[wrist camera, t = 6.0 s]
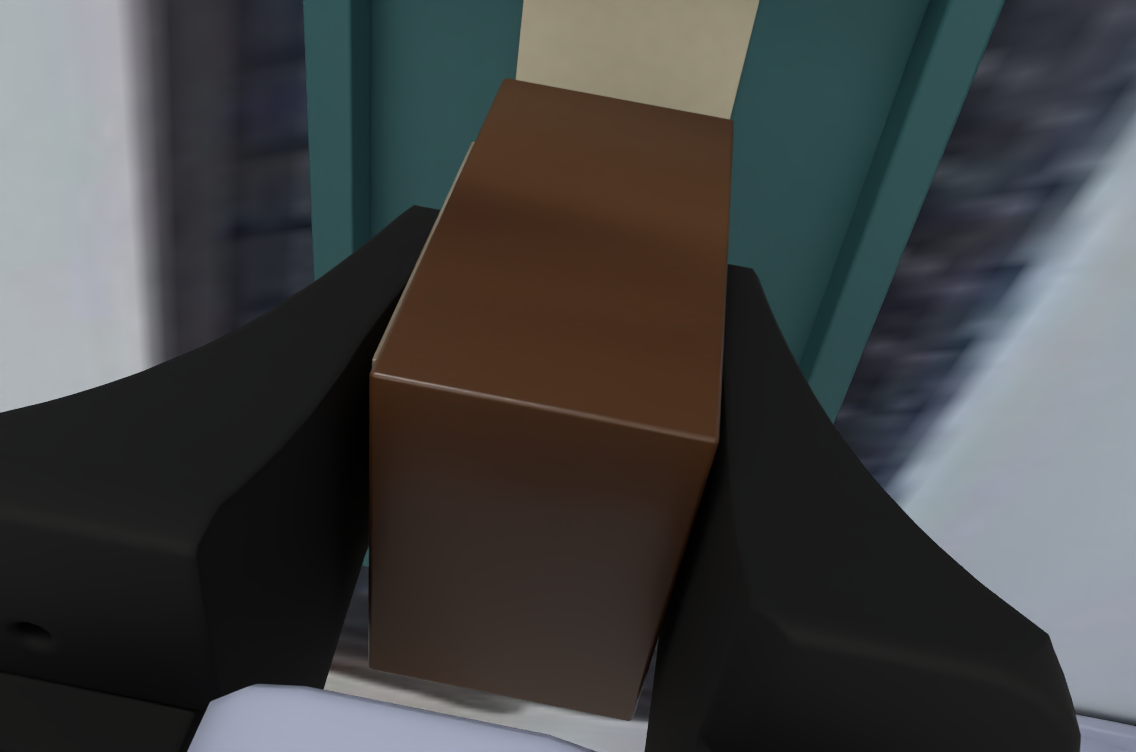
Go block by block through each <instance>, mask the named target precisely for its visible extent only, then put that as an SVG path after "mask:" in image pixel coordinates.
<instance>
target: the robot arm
mask: <svg viewBox="0 0 1136 752" xmlns="http://www.w3.org/2000/svg"><path fill="white" fill-rule="evenodd" d="M439 213H440V210H439V209H433V208H428V207H423V206H417V205H413V206H412V207H410V208H409V209H407V210H406V211H404V212H403V213H402V214H401V215H399V216H398V217H397V218H396V219H394V220H393V221H392V222H391V223H390V224H388V225H387V226H386V227H385V228H383V229H382V230H381V231H380V232H379V233H377V234H376V235H375V236H374V237H372V238H371V239H370V240H369V241H367V242H366V243H365V244H364V245H362V246H361V247H360V248H359V249H357V250H356V251H355V252H354V253H352V254H351V255H350V256H348V257H347V258H346V259H344V260H343V261H341V262H340V263H339V264H337V265H336V266H335V267H333V268H332V269H331V270H329V271H328V272H327V273H325V274H324V275H323V276H321V277H320V278H319V279H317V280H316V281H314V282H313V283H312V284H310V285H309V286H307V287H306V288H304V289H302V290H301V291H299V292H298V293H296V294H295V295H293V296H292V297H290V298H289V299H287V300H286V301H284V302H283V303H281V304H280V305H278V306H277V307H275V308H273V309H272V310H270V311H269V312H267V313H265V314H264V315H262V316H260V317H259V318H257V319H255V320H253V321H251V322H250V323H248V324H246V325H244V326H242V327H240V328H238V329H236V330H234V331H232V332H230V333H229V334H227V335H225V336H223V337H221V338H219V339H217V340H215V341H213V342H211V343H209V344H206V345H204V346H202V347H200V348H197V349H195V350H193V351H190V352H188V353H185V354H183V355H181V356H178V357H176V358H173V359H171V360H169V361H166V362H164V363H161V364H159V365H157V366H154V367H152V368H149V369H147V370H145V371H142V372H139V373H137V374H134V375H131V376H128V377H125V378H122V379H119V380H117V381H114V382H111V383H108V384H105V385H102V386H99V387H95V388H92V389H89V390H86V391H82V392H79V393H76V394H73V395H69V396H66V397H62V398H59V399H55V400H51V401H48V402H44V403H40V404H36V405H31V406H27V407H23V408H18V409H14V410H10V411H6V412H1V413H0V752H596V751H593V750H590V749H588V748H585V747H582V746H579V745H576V744H573V743H571V742H568V741H565V740H562V739H559V738H557V737H554V736H551V735H547V734H542V733H537V732H532V731H527V730H522V729H517V728H512V727H507V726H502V725H497V724H492V723H487V722H482V721H477V720H472V719H467V718H462V717H457V716H452V715H447V714H442V713H437V712H433V711H428V710H423V709H418V708H413V707H408V706H403V705H398V704H393V703H388V702H383V701H378V700H373V699H368V698H363V697H358V696H353V695H348V694H343V693H338V692H333V691H328V690H323V689H324V686H325V682H326V679H327V676H328V673H329V669H330V666H331V663H332V659H333V656H334V653H335V650H336V646H337V643H338V640H339V637H340V633H341V630H342V627H343V624H344V620H345V617H346V614H347V611H348V608H349V605H350V601H351V598H352V595H353V592H354V589H355V586H356V583H357V580H358V576H359V573H360V570H361V567H362V564H363V561H364V558H365V555H366V552H367V550H368V547H369V374H370V372H371V370H372V359H373V357H374V354H375V352H376V350H377V348H378V346H379V344H380V341H381V339H382V337H383V335H384V333H385V330H386V328H387V326H388V324H389V322H390V320H391V317H392V315H393V313H394V311H395V309H396V306H397V304H398V302H399V300H400V298H401V296H402V293H403V291H404V289H405V287H406V285H407V282H408V280H409V278H410V276H411V274H412V271H413V269H414V267H415V265H416V263H417V261H418V258H419V256H420V254H421V252H422V250H423V247H424V245H425V243H426V241H427V239H428V237H429V234H430V232H431V230H432V228H433V226H434V223H435V221H436V219H437V217H438V215H439ZM645 752H1136V726H1132V725H1127V724H1122V723H1117V722H1112V721H1107V720H1102V719H1097V718H1092V717H1087V716H1082V715H1077V714H1075V710H1074V706H1073V702H1072V698H1071V695H1070V692H1069V689H1068V686H1067V683H1066V679H1065V676H1064V673H1063V671H1062V668H1061V666H1060V664H1059V661H1058V659H1057V656H1056V654H1055V651H1054V649H1053V646H1052V643H1051V640H1050V637H1049V635H1048V634H1047V633H1046V632H1044V631H1043V630H1042V629H1041V628H1039V627H1038V626H1037V625H1035V624H1034V623H1033V622H1031V621H1030V620H1029V619H1027V618H1026V617H1025V616H1023V615H1022V614H1021V613H1020V612H1018V611H1017V610H1016V609H1014V608H1013V607H1012V606H1010V605H1009V604H1008V603H1006V602H1005V601H1004V600H1002V599H1001V598H1000V597H998V596H997V595H996V594H995V593H993V592H992V591H991V590H989V589H988V588H987V587H985V586H984V585H983V584H982V583H980V582H979V581H978V580H977V579H976V578H974V577H973V576H972V575H971V574H970V573H969V572H968V571H966V570H965V569H964V568H963V567H962V566H961V565H960V564H958V563H957V562H956V561H955V560H954V559H953V558H952V557H951V556H949V555H948V554H947V553H946V552H945V551H944V550H943V549H942V548H940V547H939V546H938V545H937V544H936V543H935V542H934V541H933V540H932V539H931V538H930V537H929V536H928V535H927V534H926V533H925V532H924V531H923V530H922V529H921V528H920V527H919V526H918V525H917V524H916V523H915V522H914V521H913V520H912V519H911V518H910V517H909V516H908V515H907V514H906V513H905V512H904V511H903V510H902V509H901V508H900V507H899V505H898V504H897V503H896V502H895V501H894V500H893V499H892V498H891V497H890V496H889V495H888V494H887V493H886V492H885V490H884V489H883V488H882V487H881V486H880V485H879V484H878V482H877V481H876V480H875V479H874V478H873V477H872V475H871V474H870V473H869V472H868V471H867V469H866V468H865V467H864V465H863V464H862V463H861V462H860V460H859V459H858V458H857V456H856V455H855V454H854V453H853V451H852V450H851V449H850V447H849V446H848V445H847V444H846V442H845V441H844V439H843V438H842V436H841V435H840V434H839V432H838V431H837V429H836V428H835V426H834V425H833V423H832V422H831V420H830V418H829V417H828V415H827V414H826V412H825V410H824V409H823V407H822V406H821V404H820V402H819V401H818V399H817V398H816V396H815V394H814V393H813V391H812V389H811V387H810V386H809V384H808V382H807V380H806V379H805V377H804V375H803V373H802V371H801V369H800V367H799V365H798V364H797V362H796V360H795V358H794V356H793V354H792V352H791V350H790V349H789V347H788V344H787V342H786V340H785V338H784V336H783V334H782V332H781V330H780V328H779V326H778V323H777V321H776V319H775V317H774V315H773V312H772V310H771V308H770V305H769V303H768V301H767V298H766V296H765V293H764V291H763V288H762V285H761V283H760V280H759V278H758V276H757V274H756V273H755V271H754V270H753V268H748V267H742V266H737V265H732V264H728V267H727V288H726V310H725V331H724V352H723V373H722V395H721V416H720V437H719V444H718V447H717V451H716V454H715V457H714V460H713V463H712V467H711V470H710V473H709V476H708V479H707V483H706V486H705V489H704V492H703V495H702V499H701V502H700V505H699V508H698V512H697V515H696V518H695V521H694V524H693V528H692V531H691V534H690V537H689V540H688V544H687V547H686V550H685V553H684V556H683V560H682V563H681V566H680V569H679V572H678V576H677V579H676V582H675V585H674V588H673V592H672V595H671V598H670V601H669V604H668V608H667V611H666V614H665V617H664V620H663V624H662V627H661V630H660V633H659V641H658V650H657V658H656V666H655V675H654V683H653V691H652V699H651V706H650V714H649V722H648V730H647V738H646V746H645Z"/></svg>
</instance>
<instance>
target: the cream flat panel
mask: <svg viewBox="0 0 1136 752" xmlns="http://www.w3.org/2000/svg"><path fill="white" fill-rule="evenodd" d="M759 1H760V0H524V1H523V11H522V21H521V31H520V41H519V51H518V61H517V71H516V80H520V81H525V82H531V83H536V84H541V85H547V86H552V87H558V88H563V89H568V90H574V91H579V92H585V93H590V94H595V95H601V96H606V97H612V98H617V99H622V100H628V101H633V102H639V103H644V104H649V105H655V106H660V107H666V108H671V109H676V110H682V111H687V112H693V113H698V114H704V115H709V116H714V117H720V118H725V119H730V117H731V113H732V109H733V105H734V101H735V97H736V93H737V89H738V85H739V81H740V77H741V73H742V69H743V65H744V61H745V57H746V53H747V49H748V45H749V41H750V37H751V33H752V29H753V25H754V21H755V17H756V13H757V9H758V5H759Z"/></svg>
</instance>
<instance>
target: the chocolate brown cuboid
mask: <svg viewBox="0 0 1136 752" xmlns="http://www.w3.org/2000/svg"><path fill="white" fill-rule="evenodd" d="M733 140H734V121H733V120H731V119H725V118H720V117H714V116H709V115H704V114H698V113H693V112H687V111H682V110H676V109H671V108H666V107H660V106H655V105H649V104H644V103H639V102H633V101H628V100H622V99H617V98H612V97H606V96H601V95H595V94H590V93H585V92H579V91H574V90H568V89H563V88H558V87H552V86H547V85H541V84H536V83H531V82H525V81H520V80H514V79H509V78H505V79H503V81H502V83H501V85H500V87H499V90H498V92H497V94H496V96H495V98H494V101H493V103H492V105H491V107H490V109H489V112H488V114H487V116H486V118H485V121H484V123H483V125H482V127H481V129H480V132H479V134H478V136H477V138H476V140H475V142H472V143H471V145H470V147H469V149H468V151H467V154H466V156H465V158H464V160H463V162H462V165H461V167H460V169H459V171H458V173H457V175H456V178H455V180H454V182H453V184H452V186H451V189H450V191H449V193H448V195H447V197H446V199H445V202H444V204H443V206H442V208H441V210H440V213H439V215H438V217H437V219H436V221H435V223H434V226H433V228H432V230H431V232H430V234H429V237H428V239H427V241H426V243H425V245H424V247H423V250H422V252H421V254H420V256H419V258H418V261H417V263H416V265H415V267H414V269H413V271H412V274H411V276H410V278H409V280H408V282H407V285H406V287H405V289H404V291H403V293H402V296H401V298H400V300H399V302H398V304H397V306H396V309H395V311H394V313H393V315H392V317H391V320H390V322H389V324H388V326H387V328H386V330H385V333H384V335H383V337H382V339H381V341H380V344H379V346H378V348H377V350H376V352H375V354H374V357H373V359H372V370H371V372H370V374H369V614H368V665H369V668H370V669H373V670H377V671H382V672H387V673H392V674H397V675H402V676H407V677H412V678H417V679H422V680H427V681H432V682H437V683H442V684H447V685H452V686H457V687H462V688H467V689H472V690H477V691H482V692H487V693H492V694H497V695H502V696H507V697H512V698H517V699H522V700H527V701H532V702H537V703H542V704H547V705H552V706H557V707H562V708H567V709H571V710H576V711H581V712H586V713H591V714H596V715H601V716H606V717H611V718H616V719H621V720H626V721H630V720H632V718H633V716H634V713H635V710H636V707H637V704H638V700H639V697H640V694H641V691H642V688H643V684H644V681H645V678H646V675H647V672H648V668H649V665H650V662H651V659H652V656H653V652H654V649H655V646H656V643H657V640H658V636H659V633H660V630H661V627H662V624H663V620H664V617H665V614H666V611H667V608H668V604H669V601H670V598H671V595H672V592H673V588H674V585H675V582H676V579H677V576H678V572H679V569H680V566H681V563H682V560H683V556H684V553H685V550H686V547H687V544H688V540H689V537H690V534H691V531H692V528H693V524H694V521H695V518H696V515H697V512H698V508H699V505H700V502H701V499H702V495H703V492H704V489H705V486H706V483H707V479H708V476H709V473H710V470H711V467H712V463H713V460H714V457H715V454H716V451H717V447H718V444H719V437H720V416H721V395H722V373H723V352H724V331H725V310H726V288H727V267H728V246H729V225H730V204H731V182H732V161H733Z"/></svg>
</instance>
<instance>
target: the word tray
mask: <svg viewBox="0 0 1136 752" xmlns="http://www.w3.org/2000/svg"><path fill="white" fill-rule="evenodd" d="M523 1H524V0H303V10H304V36H305V61H306V87H307V112H308V138H309V163H310V189H311V214H312V240H313V265H314V281H316V280H317V279H319V278H320V277H321V276H323V275H324V274H325V273H327V272H328V271H329V270H331V269H332V268H333V267H335V266H336V265H337V264H339V263H340V262H341V261H343V260H344V259H346V258H347V257H348V256H350V255H351V254H352V253H354V252H355V251H356V250H357V249H359V248H360V247H361V246H362V245H364V244H365V243H366V242H367V241H369V240H370V239H371V238H372V237H374V236H375V235H376V234H377V233H379V232H380V231H381V230H382V229H383V228H385V227H386V226H387V225H388V224H390V223H391V222H392V221H393V220H394V219H396V218H397V217H398V216H399V215H401V214H402V213H403V212H404V211H406V210H407V209H409V208H410V207H412V206H413V205H417V206H423V207H428V208H433V209H439V210H441V208H442V206H443V204H444V202H445V199H446V197H447V195H448V193H449V191H450V189H451V186H452V184H453V182H454V180H455V178H456V175H457V173H458V171H459V169H460V167H461V165H462V162H463V160H464V158H465V156H466V154H467V151H468V149H469V147H470V145H471V143H472V142H475V140H476V138H477V136H478V134H479V132H480V129H481V127H482V125H483V123H484V121H485V118H486V116H487V114H488V112H489V109H490V107H491V105H492V103H493V101H494V98H495V96H496V94H497V92H498V90H499V87H500V85H501V83H502V81H503V79H505V78H509V79H514V80H516V71H517V61H518V51H519V41H520V31H521V21H522V11H523ZM1004 2H1005V0H760V1H759V5H758V9H757V13H756V17H755V21H754V25H753V29H752V33H751V37H750V41H749V45H748V49H747V53H746V57H745V61H744V65H743V69H742V73H741V77H740V81H739V85H738V89H737V93H736V97H735V101H734V105H733V109H732V113H731V117H730V119H731V120H733V121H734V140H733V161H732V182H731V204H730V225H729V246H728V264H732V265H737V266H742V267H748V268H753V270H754V271H755V273H756V274H757V276H758V278H759V280H760V283H761V285H762V288H763V291H764V293H765V296H766V298H767V301H768V303H769V305H770V308H771V310H772V312H773V315H774V317H775V319H776V321H777V323H778V326H779V328H780V330H781V332H782V334H783V336H784V338H785V340H786V342H787V344H788V347H789V349H790V350H791V352H792V354H793V356H794V358H795V360H796V362H797V364H798V365H799V367H800V369H801V371H802V373H803V375H804V377H805V379H806V380H807V382H808V384H809V386H810V387H811V389H812V391H813V393H814V394H815V396H816V398H817V399H818V401H819V402H820V404H821V406H822V407H823V409H824V410H825V412H826V414H827V415H828V417H829V418H830V420H831V422H832V423H833V424H834V422H835V419H836V417H837V415H838V412H839V410H840V407H841V405H842V402H843V400H844V397H845V395H846V392H847V390H848V387H849V385H850V382H851V380H852V378H853V375H854V373H855V370H856V368H857V365H858V363H859V360H860V358H861V355H862V353H863V350H864V348H865V345H866V343H867V341H868V338H869V336H870V333H871V331H872V328H873V326H874V323H875V321H876V318H877V316H878V313H879V311H880V308H881V306H882V304H883V301H884V299H885V296H886V294H887V291H888V289H889V286H890V284H891V281H892V279H893V276H894V274H895V271H896V269H897V266H898V264H899V262H900V259H901V257H902V254H903V252H904V249H905V247H906V244H907V242H908V239H909V237H910V234H911V232H912V229H913V227H914V225H915V222H916V220H917V217H918V215H919V212H920V210H921V207H922V205H923V202H924V200H925V197H926V195H927V192H928V190H929V188H930V185H931V183H932V180H933V178H934V175H935V173H936V170H937V168H938V165H939V163H940V160H941V158H942V155H943V153H944V151H945V148H946V146H947V143H948V141H949V138H950V136H951V133H952V131H953V128H954V126H955V123H956V121H957V118H958V116H959V114H960V111H961V109H962V106H963V104H964V101H965V99H966V96H967V94H968V91H969V89H970V86H971V84H972V81H973V79H974V77H975V74H976V72H977V69H978V67H979V64H980V62H981V59H982V57H983V54H984V52H985V49H986V47H987V44H988V42H989V39H990V37H991V35H992V32H993V30H994V27H995V25H996V22H997V20H998V17H999V15H1000V12H1001V10H1002V7H1003V5H1004ZM362 566H367V567H369V547H368V550H367V552H366V555H365V558H364V561H363V564H362Z"/></svg>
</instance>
